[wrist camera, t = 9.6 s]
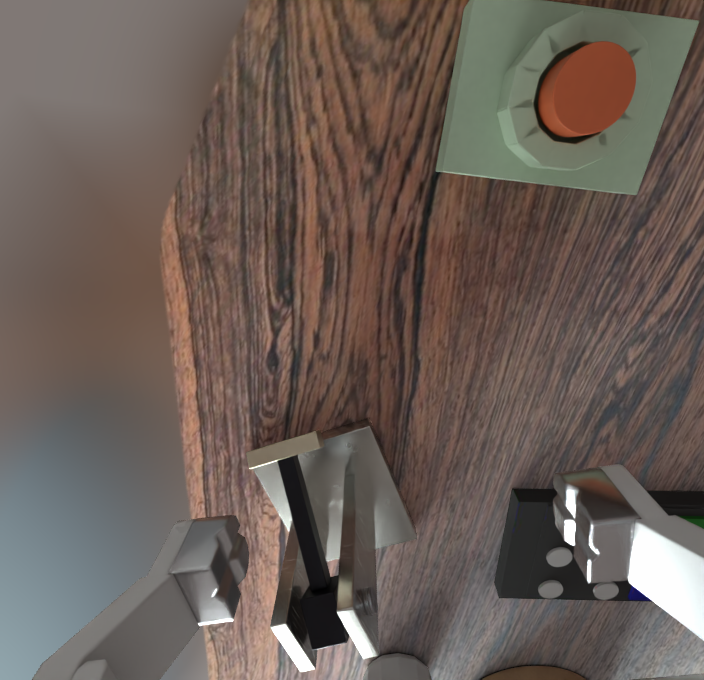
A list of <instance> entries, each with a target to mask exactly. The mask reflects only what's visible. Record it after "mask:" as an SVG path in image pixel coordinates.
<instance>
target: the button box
mask: <svg viewBox="0 0 704 680" xmlns="http://www.w3.org/2000/svg"><path fill="white" fill-rule="evenodd" d="M698 23H699V21H698V20H690V19H683V18H675V17H667V16H660V15H652V14H645V13H637V12H629V11H622V10H614V9H606V8H599V7H591V6H584V5H576V4H568V3H561V2H553V1H545V0H469V2H468V3H467V5H466V7H465V8H464V13H463V18H462V24H461V30H460V35H459V41H458V47H457V52H456V58H455V64H454V69H453V75H452V81H451V86H450V92H449V98H448V103H447V109H446V115H445V120H444V126H443V132H442V137H441V143H440V149H439V154H438V160H437V166H436V171H437V172H445V173H453V174H461V175H469V176H478V177H486V178H494V179H502V180H510V181H519V182H527V183H535V184H543V185H551V186H560V187H568V188H576V189H584V190H592V191H601V192H609V193H618V194H630V195H637V193H638V190H639V187H640V184H641V181H642V179H643V176H644V173H645V170H646V168H647V165H648V162H649V159H650V156H651V154H652V151H653V148H654V145H655V143H656V140H657V137H658V134H659V131H660V129H661V126H662V123H663V120H664V118H665V115H666V112H667V109H668V106H669V104H670V101H671V98H672V95H673V93H674V90H675V87H676V84H677V82H678V79H679V76H680V73H681V70H682V68H683V65H684V62H685V59H686V57H687V54H688V51H689V48H690V45H691V43H692V40H693V37H694V34H695V32H696V29H697V26H698ZM599 41H608V42H613V43H616V44H618V45H620V46H621V47H623V48H624V49H625V50H626V51H627V52H628V53H629V54H630V56H631V58H632V60H633V62H634V65H635V69H636V86H635V91H634V94H633V97H632V100H631V102H630V104H629V106H628V107H627V109H626V110H625V112H624V113H623V114H622V116H621V117H620V118H619V119H618V120H617V121H616V122H615V123H614V124H612V125H611V126H609V127H608V128H606V129H605V130H603V131H600V132H598V133H594V134H589V135H583V136H577V137H561V136H558V135H555V134H553V133H552V132H550V131H549V130H548V129H547V128H546V127H545V125H544V124H543V122H542V120H541V118H540V115H539V110H538V96H539V91H540V88H541V85H542V83H543V80H544V78H545V77H546V75H547V74H548V72H549V71H550V69H551V68H552V67H553V66H554V65H555V64H556V63H557V62H558V61H560V60H561V59H563V58H564V57H566V56H568V55H570V54H571V53H573V52H575V51H577V50H578V49H580V48H582V47H584V46H585V45H588V44H590V43H594V42H599Z"/></svg>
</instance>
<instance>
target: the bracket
mask: <svg viewBox="0 0 704 680" xmlns="http://www.w3.org/2000/svg"><path fill="white" fill-rule="evenodd" d="M321 434H322V438H323V441H324V446H323V447H321V448H319V449H316V450H312V451H309V452H305V453H302V454H299V455H298V458H299V462H300V466H301V470H302V473H303V477H304V481H305V484H306V488H307V492H308V495H309V499H310V503H311V507H312V510H313V514H314V518H315V521H316V525H317V529H318V533H319V536H320V540H321V544H322V547H323V551H324V555H325V559H326V562H327V561H331V560H335V559H339V558H340V560H339V577H338V593H337V610H336V612H337V614H338V615H339V617H340V619H341V621H342V622H343V624H344V626H345V628H346V629H347V631H348V633H349V634H350V636H351V638H352V640H353V641H354V643H355V645H356V647H357V648H358V650H359V652H360V654H361V655H362V657H363V658H364V659H366V658H370V657H375V656H379V639H378V603H377V579H376V549H379V548H383V547H387V546H391V545H395V544H399V543H403V542H407V541H411V540H415V539H417V533H416V527H415V525H414V522H413V520H412V518H411V515H410V513H409V511H408V508H407V506H406V503H405V501H404V499H403V496H402V494H401V491H400V489H399V487H398V484H397V482H396V480H395V477H394V475H393V472H392V470H391V468H390V465H389V463H388V461H387V458H386V456H385V453H384V451H383V449H382V446H381V444H380V441H379V439H378V437H377V434H376V432H375V430H374V427H373V425H372V422H371V420H370V418H366V419H363V420H360V421H357V422H353V423H350V424H347V425H343V426H340V427H337V428H334V429H330V430H327V431H324V432H321ZM253 470H254V472H255V474H256V475H257V477H258V479H259V481H260V482H261V484H262V486H263V487H264V489H265V491H266V493H267V494H268V496H269V498H270V500H271V501H272V503H273V505H274V507H275V508H276V510H277V512H278V513H279V515H280V517H281V519H282V520H283V522H284V524H285V526H286V527H287V529H288V531H289V536H288V541H287V546H286V551H285V556H284V561H283V566H282V571H281V576H280V581H279V586H278V590H277V595H276V600H275V605H274V610H273V615H272V620H271V625H270V627H271V629H272V630H273V632H274V633H275V635H276V636H277V638H278V639H279V641H280V642H281V644H282V645H283V647H284V648H285V650H286V651H287V652H288V654H289V655H290V657H291V658H292V660H293V661H294V663H295V664H296V666H297V667H298V669H299V670H300V672H303V671H308V670H313V669H316V660H317V649H315V650H312V647H311V644H310V640H309V636H308V632H307V628H306V624H305V620H304V616H303V612H302V608H301V604H300V599H301V597H302V596H303V594H304V593H305V591H306V590H307V588H308V586H309V581H308V577H307V573H306V569H305V566H304V562H303V558H302V554H301V550H300V546H299V542H298V539H297V535H296V531H295V527H294V523H293V519H292V516H291V512H290V508H289V504H288V500H287V496H286V492H285V489H284V485H283V481H282V477H281V473H280V469H279V466H278V462H277V461H275V462H272V463H269V464H265V465H262V466H258V467H255V468H253Z"/></svg>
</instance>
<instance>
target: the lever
mask: <svg viewBox="0 0 704 680" xmlns="http://www.w3.org/2000/svg"><path fill="white" fill-rule="evenodd" d="M323 446H324V441H323V438H322V434H321V431H320V430H317V431H313V432H310V433H307V434H303V435H300V436H297V437H294V438H290V439H287V440H284V441H281V442H277V443H274V444H271V445H267V446H264V447H261V448H258V449H254V450H251V451H248V452H246V456H247V460H248V464H249V468H250V469H252V468H255V467H258V466H262V465H265V464H269V463H272V462H275V461H277V462H278V466H279V469H280V473H281V477H282V481H283V485H284V489H285V492H286V496H287V500H288V504H289V508H290V512H291V516H292V519H293V523H294V527H295V531H296V535H297V539H298V542H299V546H300V550H301V554H302V558H303V562H304V566H305V569H306V573H307V577H308V581H309V586H308V588H307V590H306V591H305V593H304V594H303V596H302V597H301V599H300V604H301V608H302V612H303V616H304V620H305V624H306V628H307V632H308V636H309V640H310V644H311V647H312V650H315V649H320V648H325V647H329V646H334V645H339V644H343V643H347V641H348V638H349V635H350V634H349V633H348V631H347V629H346V628H345V626H344V624H343V622H342V621H341V619H340V617H339V615H338V614H337V612H336V610H337V593H338V577H339V575H338V576H334V577H330V573H329V570H328V566H327V562H326V559H325V555H324V551H323V547H322V544H321V540H320V536H319V533H318V529H317V525H316V521H315V518H314V514H313V510H312V507H311V503H310V499H309V495H308V492H307V488H306V484H305V481H304V477H303V473H302V470H301V466H300V462H299V458H298V455H299V454H302V453H305V452H309V451H312V450H316V449H319V448H321V447H323Z"/></svg>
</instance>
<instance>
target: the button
mask: <svg viewBox="0 0 704 680" xmlns="http://www.w3.org/2000/svg"><path fill="white" fill-rule="evenodd" d="M635 86H636V69H635V65H634V62H633V60H632V58H631V56H630V54H629V53H628V52H627V51H626V50H625V49H624V48H623V47H621V46H620V45H618V44H616V43H613V42H608V41H599V42H594V43H590V44H588V45H585V46H584V47H582V48H580V49H578V50H577V51H575V52H573V53H571V54H570V55H568V56H566V57H564V58H563V59H561V60H560V61H558V62H557V63H556V64H555V65H554V66H553V67H552V68H551V69H550V71H549V72H548V74H547V75H546V77H545V78H544V80H543V83H542V85H541V88H540V91H539V96H538V110H539V115H540V118H541V120H542V122H543V124H544V125H545V127H546V128H547V129H548V130H549V131H550V132H552V133H553V134H555V135H558V136H561V137H577V136H583V135H589V134H594V133H598V132H600V131H603V130H605V129H606V128H608V127H609V126H611V125H612V124H614V123H615V122H616V121H617V120H618V119H619V118H620V117H621V116H622V114H623V113H624V112H625V110H626V109H627V107H628V106H629V104H630V102H631V100H632V97H633V94H634V91H635Z"/></svg>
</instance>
